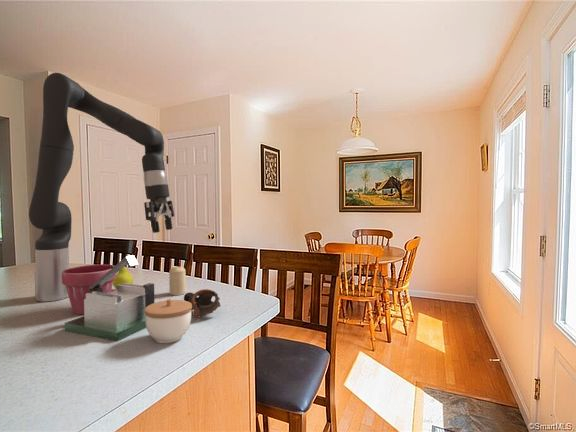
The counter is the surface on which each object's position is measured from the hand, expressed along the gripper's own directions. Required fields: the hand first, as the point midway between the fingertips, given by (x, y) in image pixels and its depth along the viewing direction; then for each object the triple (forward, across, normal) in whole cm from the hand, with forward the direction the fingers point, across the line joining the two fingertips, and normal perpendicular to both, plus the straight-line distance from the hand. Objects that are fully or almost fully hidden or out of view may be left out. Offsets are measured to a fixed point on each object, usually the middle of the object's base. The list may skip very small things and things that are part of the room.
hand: (163, 231), depth 110 cm
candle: (+24, -4, 0) cm, 24 cm away
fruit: (+21, -5, -22) cm, 31 cm away
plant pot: (+21, +17, -18) cm, 32 cm away
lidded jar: (+24, +33, +16) cm, 44 cm away
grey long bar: (+10, +26, 0) cm, 28 cm away
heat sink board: (+22, +26, -2) cm, 35 cm away
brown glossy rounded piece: (+25, +15, +17) cm, 34 cm away
